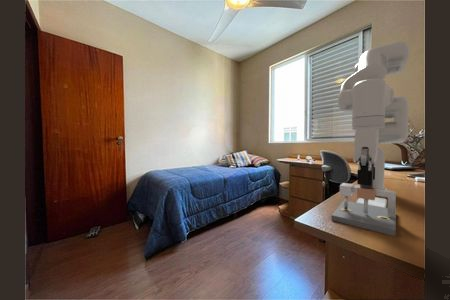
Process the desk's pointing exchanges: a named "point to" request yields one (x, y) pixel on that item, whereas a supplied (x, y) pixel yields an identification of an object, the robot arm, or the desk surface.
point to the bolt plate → (366, 217)
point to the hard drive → (375, 202)
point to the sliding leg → (366, 193)
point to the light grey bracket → (350, 189)
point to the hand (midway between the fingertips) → (366, 181)
